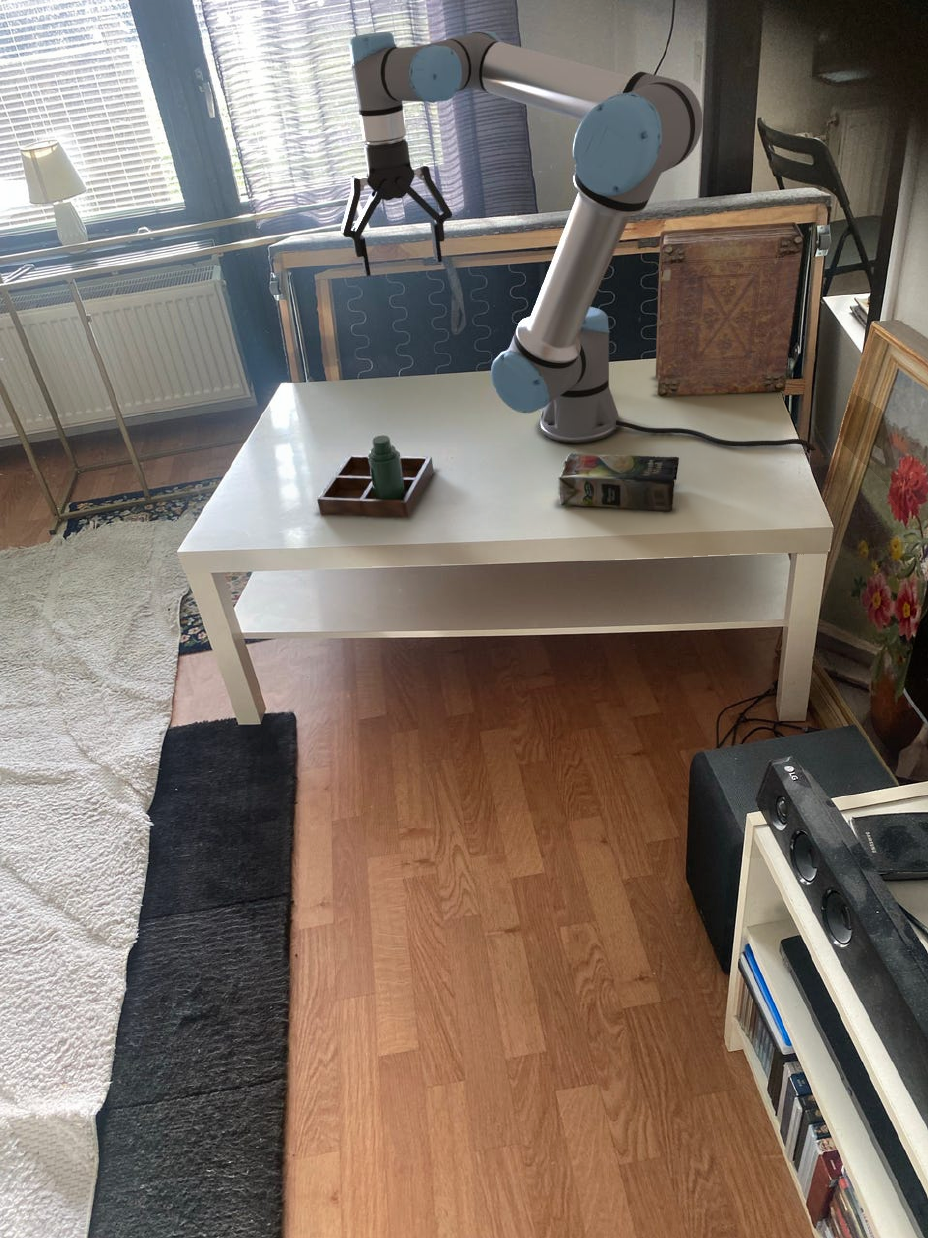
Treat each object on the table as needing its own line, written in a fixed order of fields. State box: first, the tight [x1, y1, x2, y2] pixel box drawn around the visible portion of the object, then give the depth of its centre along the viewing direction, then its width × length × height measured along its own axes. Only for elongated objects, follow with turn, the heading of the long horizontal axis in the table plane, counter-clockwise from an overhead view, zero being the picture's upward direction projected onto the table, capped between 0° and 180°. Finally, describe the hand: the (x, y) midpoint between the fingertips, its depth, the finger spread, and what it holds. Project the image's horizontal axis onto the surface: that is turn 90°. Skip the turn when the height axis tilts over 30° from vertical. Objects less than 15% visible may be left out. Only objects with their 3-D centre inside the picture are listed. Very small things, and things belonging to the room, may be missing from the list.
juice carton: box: [558, 452, 680, 512], centre depth 155 cm, size 20×10×6 cm, turn 74°
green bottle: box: [367, 434, 406, 500], centre depth 158 cm, size 6×6×12 cm
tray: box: [316, 454, 434, 519], centre depth 165 cm, size 17×17×3 cm
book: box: [655, 221, 805, 397], centre depth 179 cm, size 25×9×30 cm, turn 81°
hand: (403, 267), depth 168 cm, fingers open, 13 cm apart
